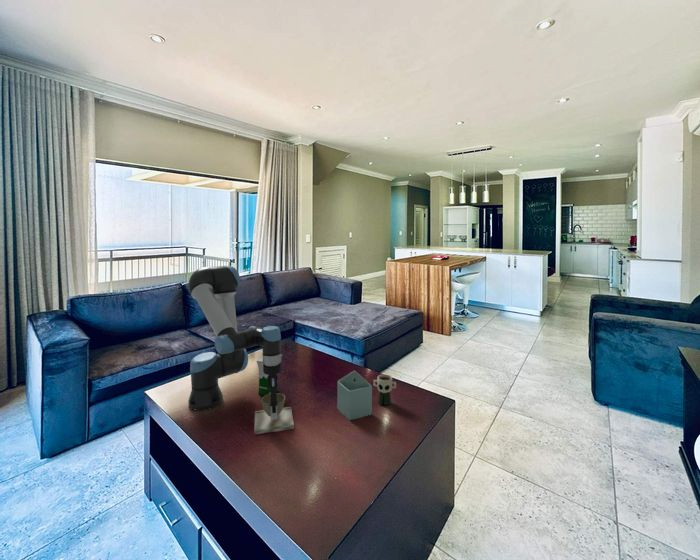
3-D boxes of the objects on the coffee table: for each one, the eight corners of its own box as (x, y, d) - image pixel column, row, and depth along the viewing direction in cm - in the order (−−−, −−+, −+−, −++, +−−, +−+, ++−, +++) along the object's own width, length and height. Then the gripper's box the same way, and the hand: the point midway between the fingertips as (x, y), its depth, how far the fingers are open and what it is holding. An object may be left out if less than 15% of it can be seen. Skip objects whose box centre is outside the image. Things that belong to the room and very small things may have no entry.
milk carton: (280, 390, 172) (279, 353, 169) (270, 398, 164) (269, 359, 161) (266, 387, 175) (265, 350, 173) (255, 394, 167) (254, 356, 164)
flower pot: (280, 421, 137) (279, 405, 136) (257, 418, 139) (257, 402, 138) (289, 409, 147) (288, 394, 146) (268, 406, 149) (267, 391, 148)
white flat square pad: (254, 434, 134) (254, 431, 134) (255, 413, 149) (255, 411, 149) (294, 428, 138) (294, 425, 138) (291, 409, 153) (291, 406, 153)
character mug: (371, 405, 157) (372, 379, 156) (374, 398, 164) (374, 373, 162) (394, 408, 155) (395, 381, 153) (396, 400, 162) (397, 375, 160)
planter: (331, 417, 147) (331, 374, 144) (337, 408, 155) (337, 367, 152) (367, 423, 142) (368, 379, 139) (371, 414, 150) (372, 372, 147)
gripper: (282, 372, 130) (284, 425, 133) (279, 353, 152) (281, 398, 155) (263, 374, 128) (265, 428, 131) (263, 354, 150) (264, 400, 153)
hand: (273, 412), depth 143 cm, fingers closed on flower pot, 10 cm apart
